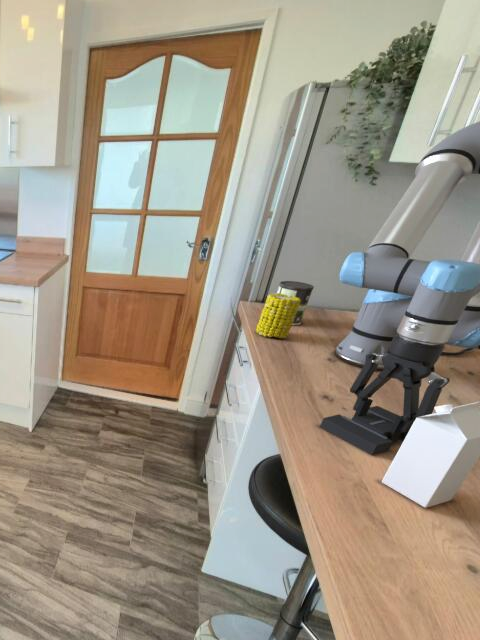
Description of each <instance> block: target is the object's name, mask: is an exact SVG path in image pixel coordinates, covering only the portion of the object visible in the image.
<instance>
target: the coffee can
mask: <svg viewBox="0 0 480 640" xmlns="http://www.w3.org/2000/svg"><path fill="white" fill-rule="evenodd" d="M277 288H278V289H277V292H276V293H277V294H278V293H281V294H283V295H284V294H286V295H287V296H289V295H291V296H293V297H297V298H300V300H301V302H300V305H299V306H298V310H297V311H296V312H297V313H296V315H295V318H294V322H292V323H293V324H292V325H291V326H299V325H301V324H302V320H303V318H304V315H305V312H306V309H307V306H308V303H309V300H310V299H311V295H312V292H313V290H314V288H315V286H314V285H312V284H310V283H307V282H301V281H293V280H283V281H280V282H279V284H278V287H277Z"/></svg>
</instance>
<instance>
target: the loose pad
mask: <svg viewBox="0 0 480 640" xmlns="http://www.w3.org/2000/svg"><path fill="white" fill-rule="evenodd" d="M350 419H351V420H353V421H355V422H357V423H359V424H361V425H363V426H365V427H367V428H369V429H371V430H373V431H375V432H377V433H379V434H381V435H383V436H385V437H387V436H388V434H389V432H390V430H391V428H392V426H393V425H394V423H392V422H390V421H388V420H386V419H384V418H381V417H379V416H377V415H375V414H373V413H370V414H366V415H361V416H357V417H354V416H353V417H352V418H350Z"/></svg>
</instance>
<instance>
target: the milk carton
mask: <svg viewBox="0 0 480 640" xmlns="http://www.w3.org/2000/svg"><path fill="white" fill-rule="evenodd" d="M479 406H480V401H475V402H470V403H467V404H463V405H457V406H454V407H453V404H451V403H450V404H442V405H437V406H436V405H435V407H434V411H435V412H433V413H432V414H429V415H425V416H421V417H417V418H416V419H415V421H414V423H413V425H412V427H411V428H410V430H409V432H408V434H407V436H406V438H405V439H404V440H403V441H402V443H401V445H400V447H399V449H398V450H397V453H396V454H395V456H394V458H393V460H392V462H391V464H390V465H389V467H388V469H387V471H386V472H385V475H384V476H383V478H382V480H381V483H382V484H384V485H385V486H387V487H389V488H391V489H392V490H394V491H395V492H397V493H399V494H401V495H402V496H404V497H406V498H407V499H409V500H411V501H413V502H414V503H416V504H417V505H419V506H421V507H422V508H425V509H426V508H430V507H434V506H437V505H439V504H440V505H441V504H443V503H446V502H450V501H452V500H453V499H454V497H455V495H456V494H457V492H458V491H459V489H460V487H462V485H463V483H464V481H465V480H466V478H467V477H468V476H469V474H470V472H471V470H472V469H473V468H474V466H475V464H477V462H478V460H479V458H480V408H479Z"/></svg>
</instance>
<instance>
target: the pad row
mask: <svg viewBox="0 0 480 640" xmlns="http://www.w3.org/2000/svg"><path fill="white" fill-rule="evenodd" d="M370 413H373V414H375V415H377V416H379V417H381V418H384V419H386V420H388V421H390V422H392V423H395V421H396V419H397V417H399V416H400V415H399V414H397V413H394V412H392V411H390V410H388V409H386V408H384V407H381V406H378V405H375V406H370V408H369V410H368V412H367V414H370ZM351 419H352V418H349V417H347V416H345V415H342V414H334V415H330V416H327V417H323V418H322V421H321V423H320V425H319V428H321V429H322V430H325V431H326V432H328V433H330V434H332V435H333V436H336V437H337V438H339V439H341V440H342V441H343V440H344V441H345V442H347V443H349V444H350V445H352V446H354V447H356V448H358V449H360V450H361V451H364V452H366V454H369V455H370V456H374V455H377V454H381V453H385V452H389V450H390V448H391V446H392V444H393V441H392V440H390V439H388V438H387V437H385V436H383V435H381V434H379V433H377V432H375V431H373V430H371V429H369V428H367V427H365V426H363V425H361V424H359V423H357V422H355V421H353V420H351ZM413 423H414V422H413ZM412 425H413V424H412ZM411 427H412V426H411ZM408 432H409V431H408ZM408 432H404V433H401V435H400V437H399V439H401V440H403V441H404V439H405V438H406V436H407V434H408Z"/></svg>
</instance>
